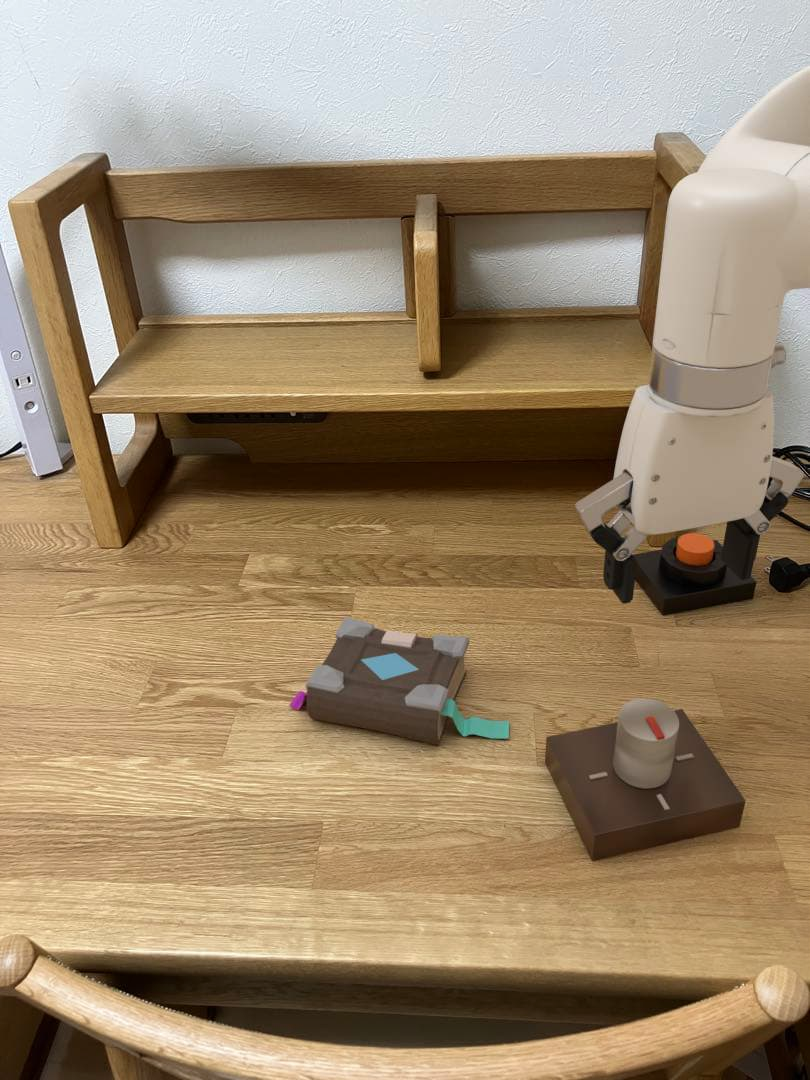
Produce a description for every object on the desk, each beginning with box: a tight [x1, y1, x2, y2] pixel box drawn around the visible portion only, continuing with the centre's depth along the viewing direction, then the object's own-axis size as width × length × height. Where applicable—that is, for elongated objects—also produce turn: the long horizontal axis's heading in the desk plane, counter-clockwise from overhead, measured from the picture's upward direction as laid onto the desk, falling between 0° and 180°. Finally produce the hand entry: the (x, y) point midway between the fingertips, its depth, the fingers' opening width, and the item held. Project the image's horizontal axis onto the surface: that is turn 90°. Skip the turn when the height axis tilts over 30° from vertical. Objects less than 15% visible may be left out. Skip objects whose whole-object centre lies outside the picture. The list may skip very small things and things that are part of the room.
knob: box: [613, 698, 679, 789], centre depth 68 cm, size 4×4×6 cm
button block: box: [632, 536, 757, 617], centre depth 93 cm, size 10×8×4 cm
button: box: [676, 532, 715, 566], centre depth 91 cm, size 4×4×2 cm
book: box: [288, 616, 510, 746], centre depth 81 cm, size 20×12×5 cm, turn 72°
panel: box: [544, 708, 747, 862], centre depth 71 cm, size 12×10×3 cm
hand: (677, 581), depth 69 cm, fingers open, 9 cm apart
